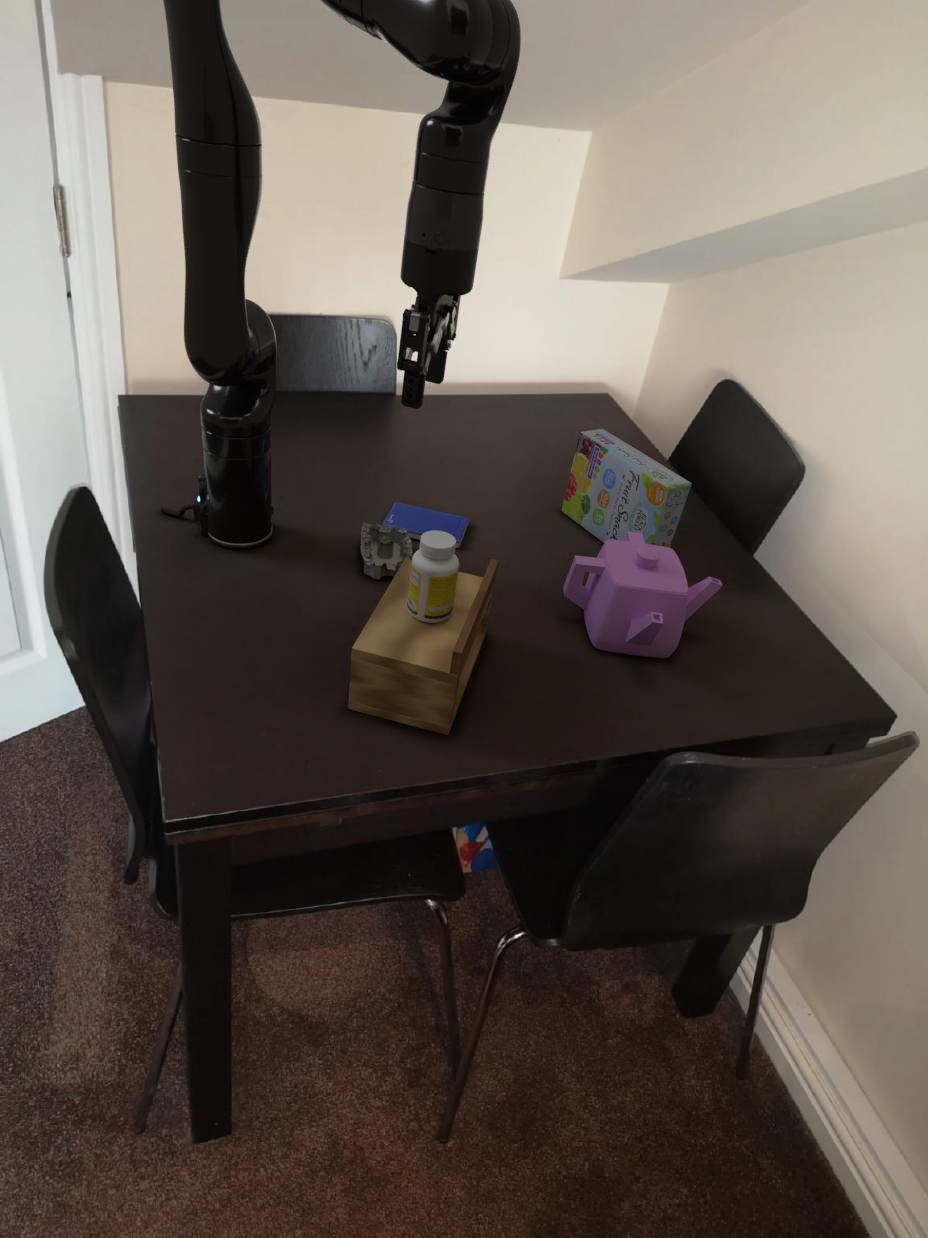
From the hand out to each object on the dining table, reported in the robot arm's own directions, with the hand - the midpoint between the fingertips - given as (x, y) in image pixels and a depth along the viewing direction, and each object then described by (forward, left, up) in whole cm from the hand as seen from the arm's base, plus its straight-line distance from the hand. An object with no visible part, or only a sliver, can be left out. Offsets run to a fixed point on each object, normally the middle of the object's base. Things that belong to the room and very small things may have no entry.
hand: (422, 393), depth 89 cm
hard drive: (-3, +25, -32) cm, 40 cm away
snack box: (+26, +36, -32) cm, 54 cm away
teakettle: (+31, +11, -31) cm, 45 cm away
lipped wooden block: (+6, -9, -31) cm, 33 cm away
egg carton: (-6, +13, -32) cm, 35 cm away
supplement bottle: (+6, -9, -23) cm, 25 cm away
